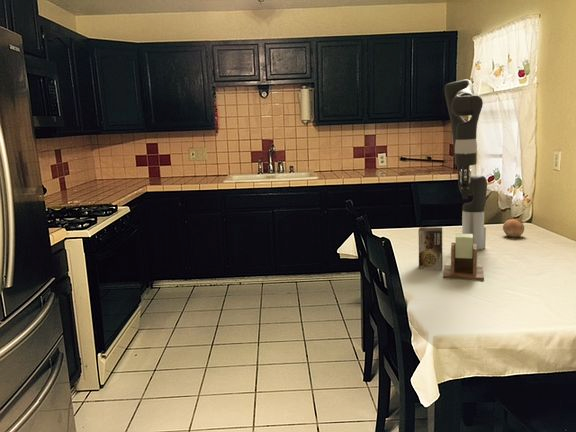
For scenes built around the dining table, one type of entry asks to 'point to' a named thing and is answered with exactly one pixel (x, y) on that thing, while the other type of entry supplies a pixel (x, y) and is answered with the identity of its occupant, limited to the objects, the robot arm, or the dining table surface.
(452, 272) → the chute
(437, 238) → the coffee box
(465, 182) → the robot arm
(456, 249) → the block
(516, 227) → the onion
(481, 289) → the dining table surface
